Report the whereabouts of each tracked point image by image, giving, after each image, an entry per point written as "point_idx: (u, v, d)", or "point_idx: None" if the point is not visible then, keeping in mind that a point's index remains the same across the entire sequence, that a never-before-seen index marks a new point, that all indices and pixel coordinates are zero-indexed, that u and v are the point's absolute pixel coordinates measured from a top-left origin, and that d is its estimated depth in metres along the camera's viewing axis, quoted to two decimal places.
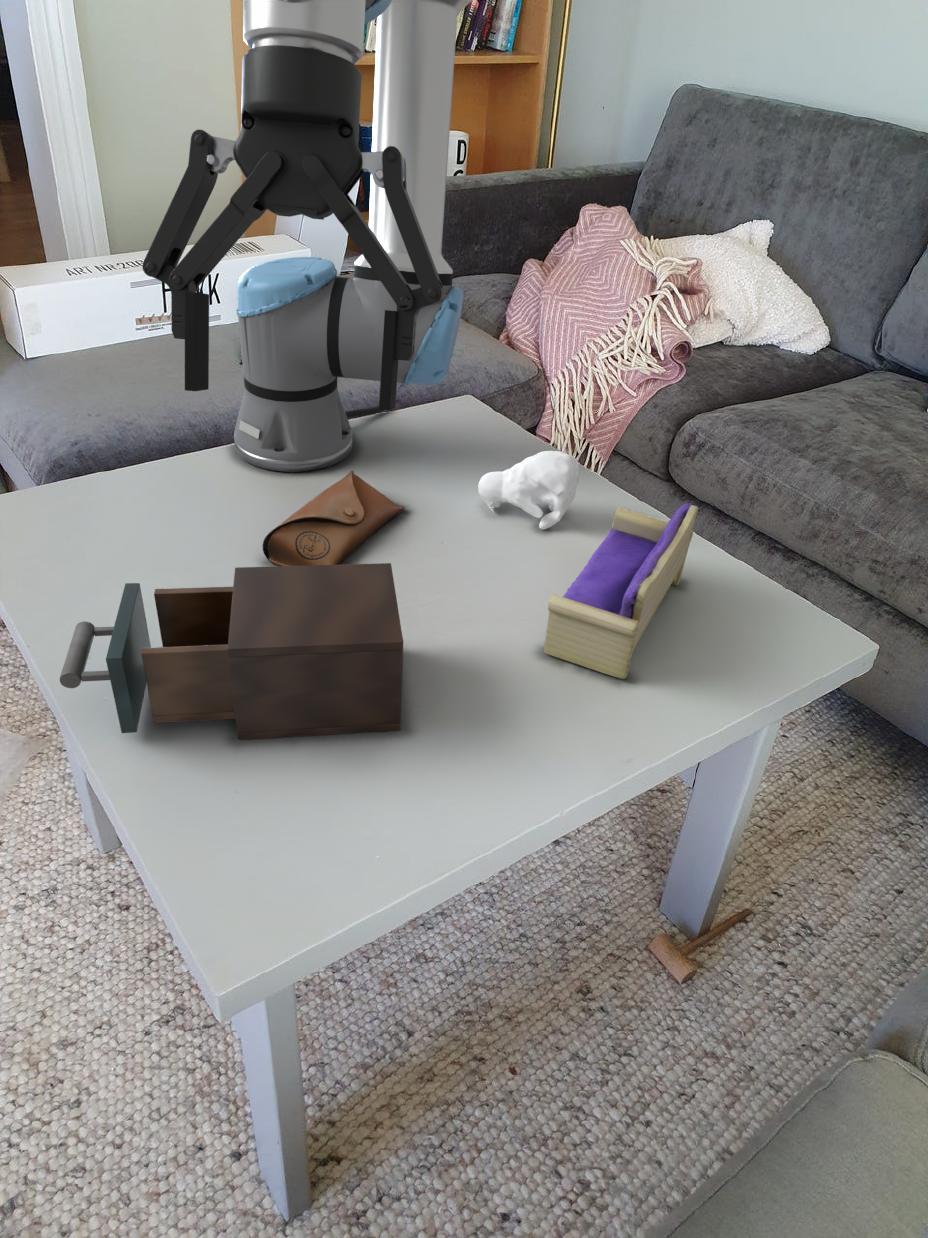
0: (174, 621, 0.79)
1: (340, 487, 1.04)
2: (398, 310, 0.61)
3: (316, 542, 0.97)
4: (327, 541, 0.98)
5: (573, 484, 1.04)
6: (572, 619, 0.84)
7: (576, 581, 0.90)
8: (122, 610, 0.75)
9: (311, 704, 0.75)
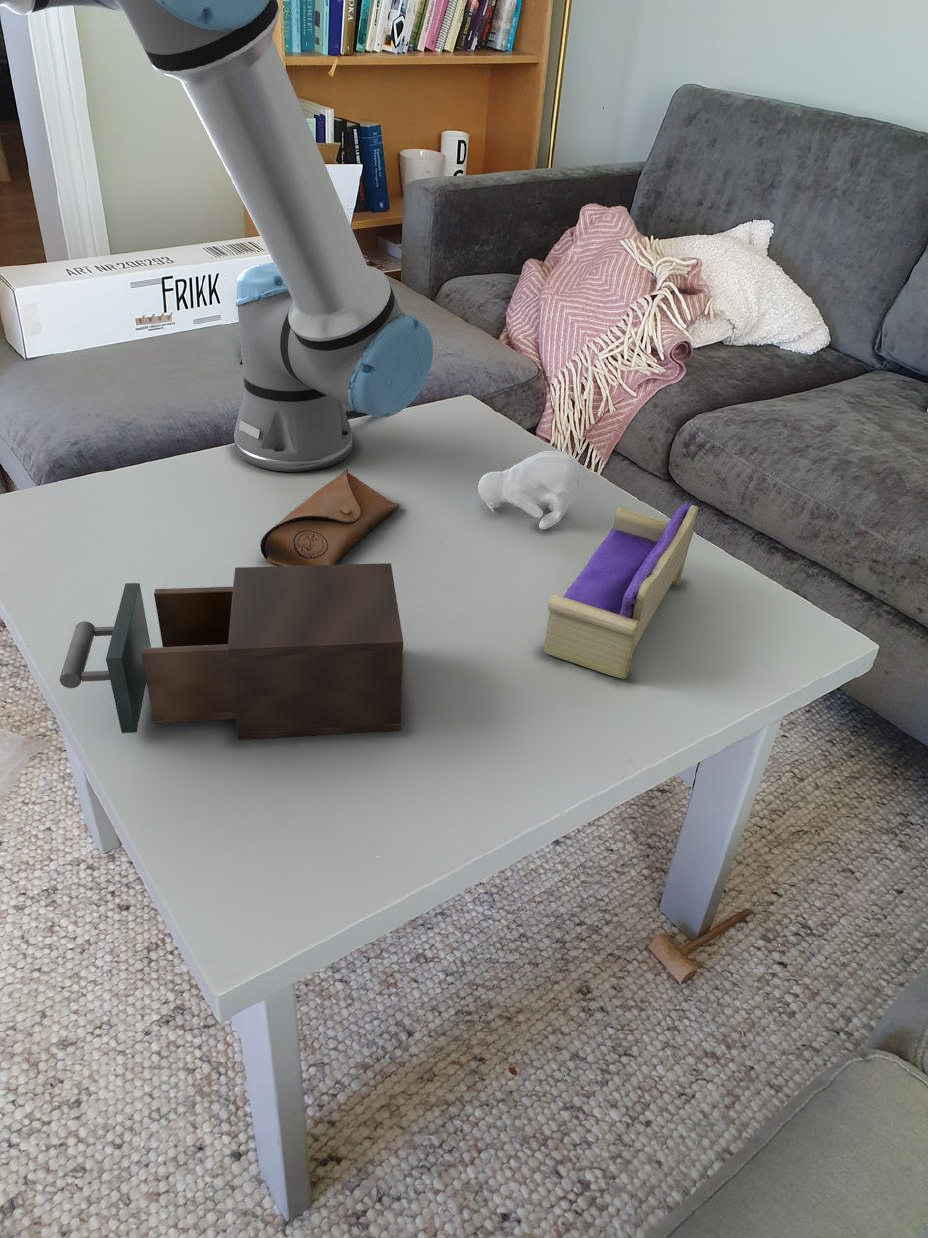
0: (174, 621, 0.79)
1: (336, 486, 1.04)
2: None
3: (313, 541, 0.97)
4: (325, 540, 0.98)
5: (573, 484, 1.04)
6: (572, 619, 0.84)
7: (576, 581, 0.90)
8: (122, 610, 0.75)
9: (311, 704, 0.75)
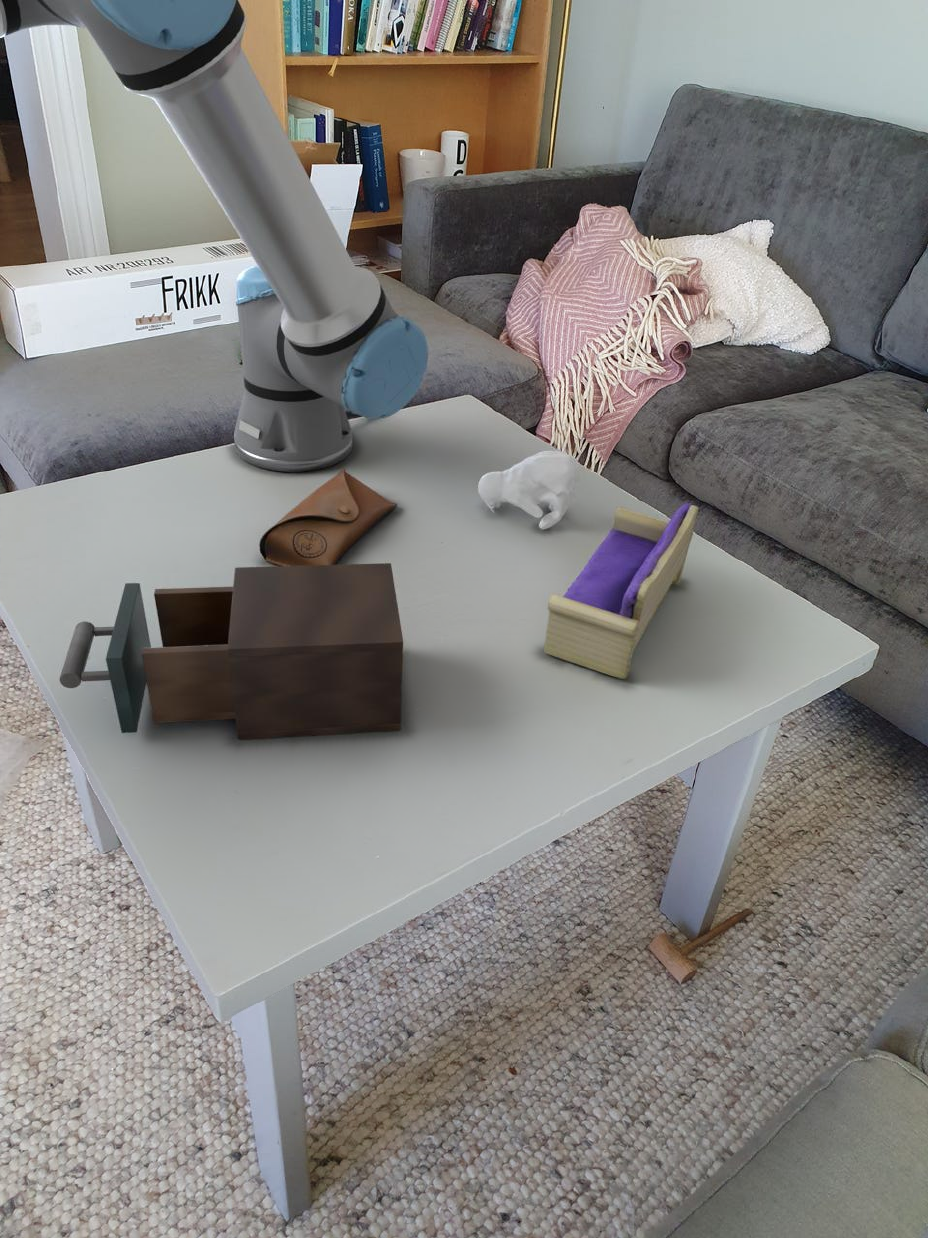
0: (174, 621, 0.79)
1: (333, 486, 1.04)
2: None
3: (313, 541, 0.97)
4: (324, 539, 0.98)
5: (573, 484, 1.04)
6: (572, 619, 0.84)
7: (576, 581, 0.90)
8: (122, 610, 0.75)
9: (311, 704, 0.75)
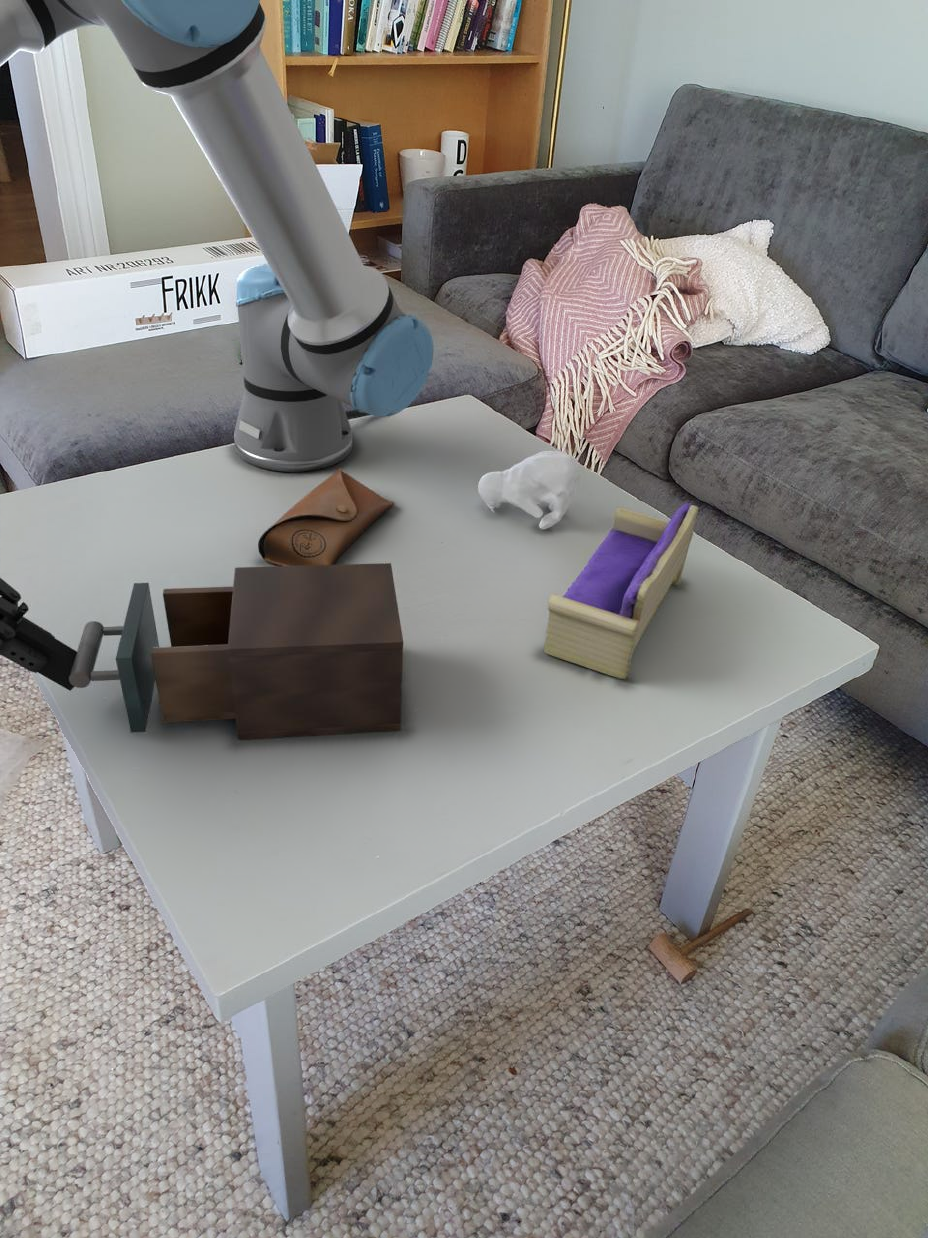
0: (183, 621, 0.80)
1: (331, 485, 1.04)
2: None
3: (311, 540, 0.98)
4: (323, 539, 0.98)
5: (573, 484, 1.04)
6: (572, 619, 0.84)
7: (576, 581, 0.90)
8: (131, 610, 0.75)
9: (311, 704, 0.75)
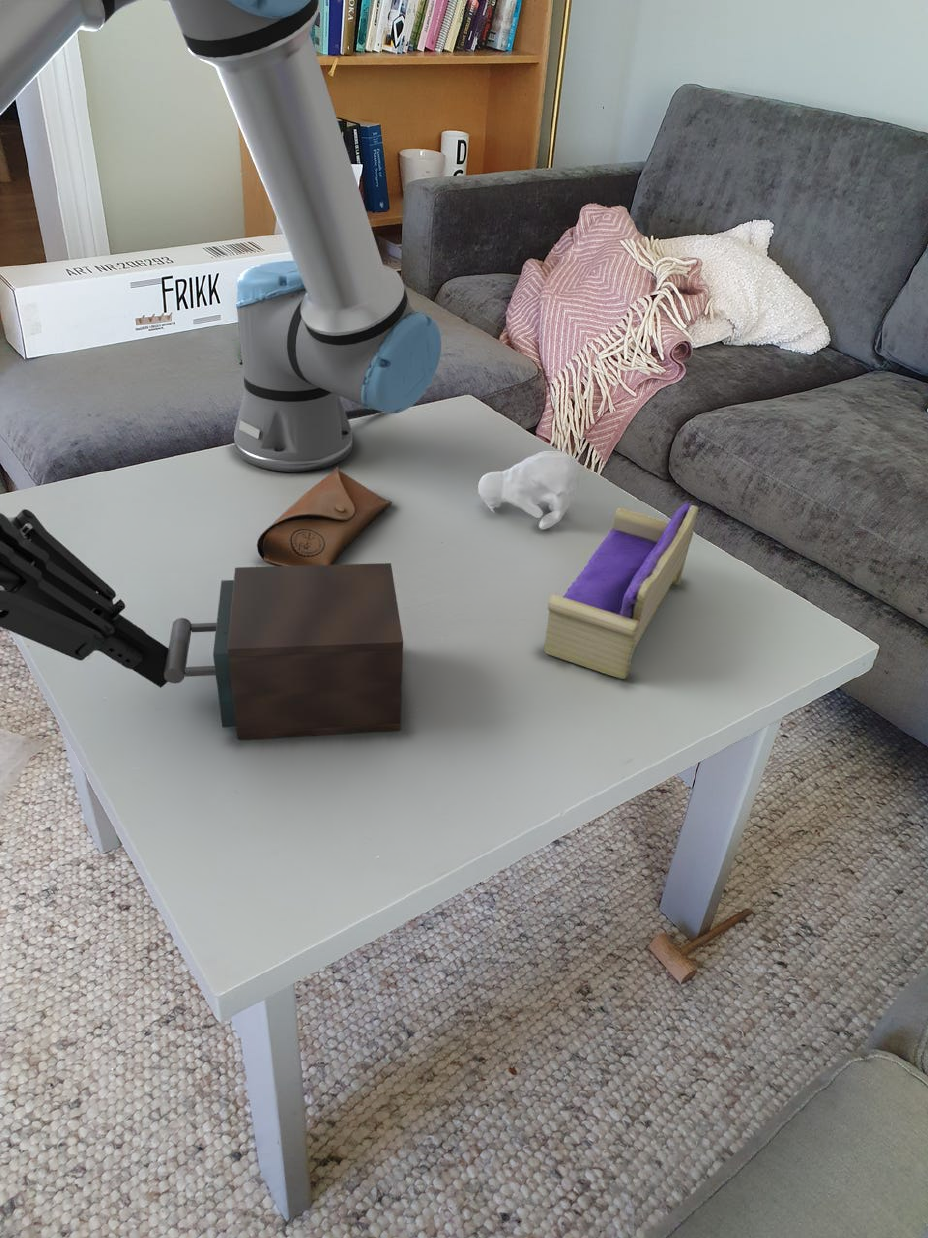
0: None
1: (328, 484, 1.05)
2: None
3: (310, 540, 0.98)
4: (322, 538, 0.98)
5: (573, 484, 1.04)
6: (572, 619, 0.84)
7: (576, 581, 0.90)
8: (222, 607, 0.76)
9: (311, 704, 0.75)
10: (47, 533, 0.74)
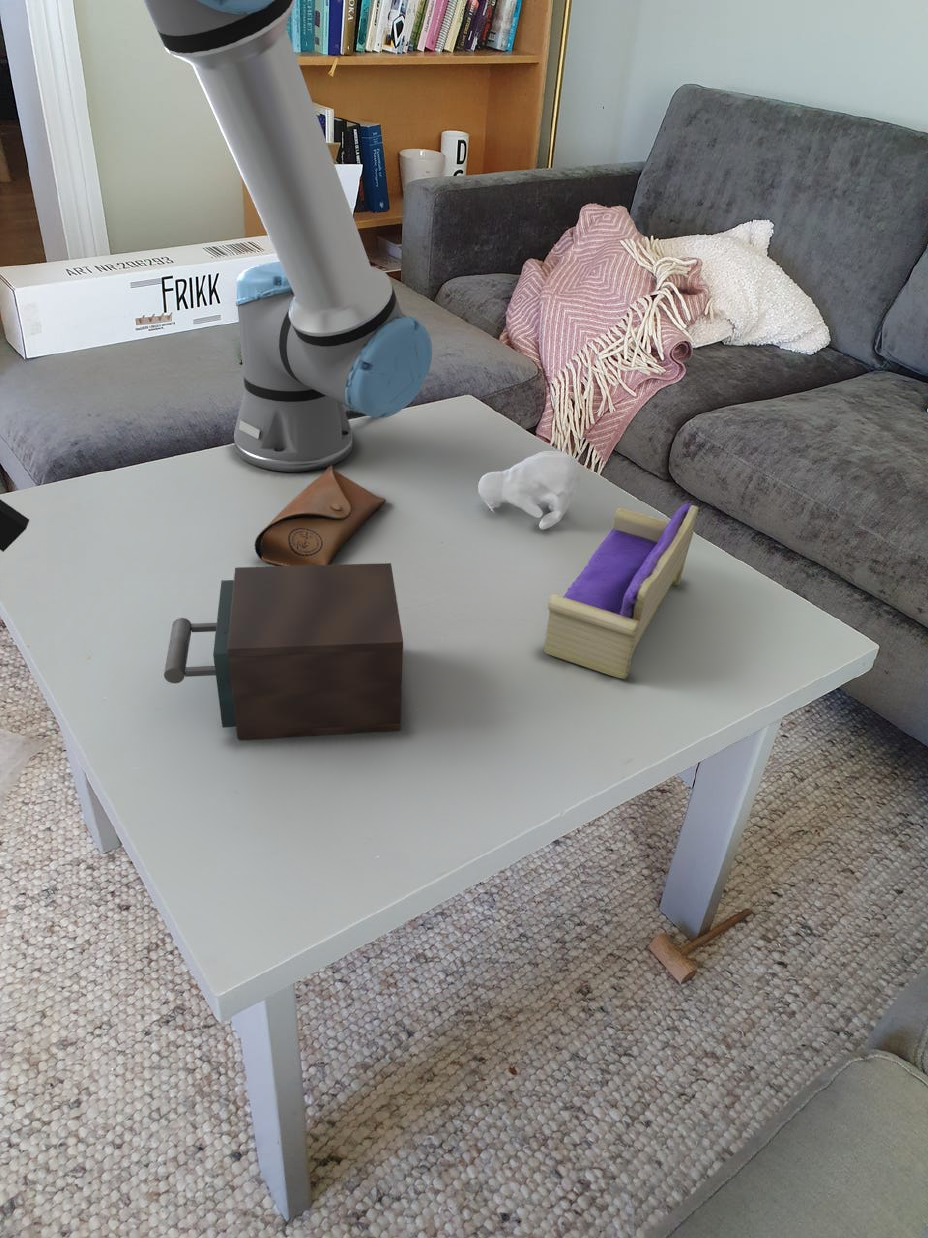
0: None
1: (323, 483, 1.05)
2: None
3: (308, 539, 0.98)
4: (319, 537, 0.98)
5: (573, 484, 1.04)
6: (572, 619, 0.84)
7: (576, 581, 0.90)
8: (222, 607, 0.76)
9: (311, 704, 0.75)
10: None
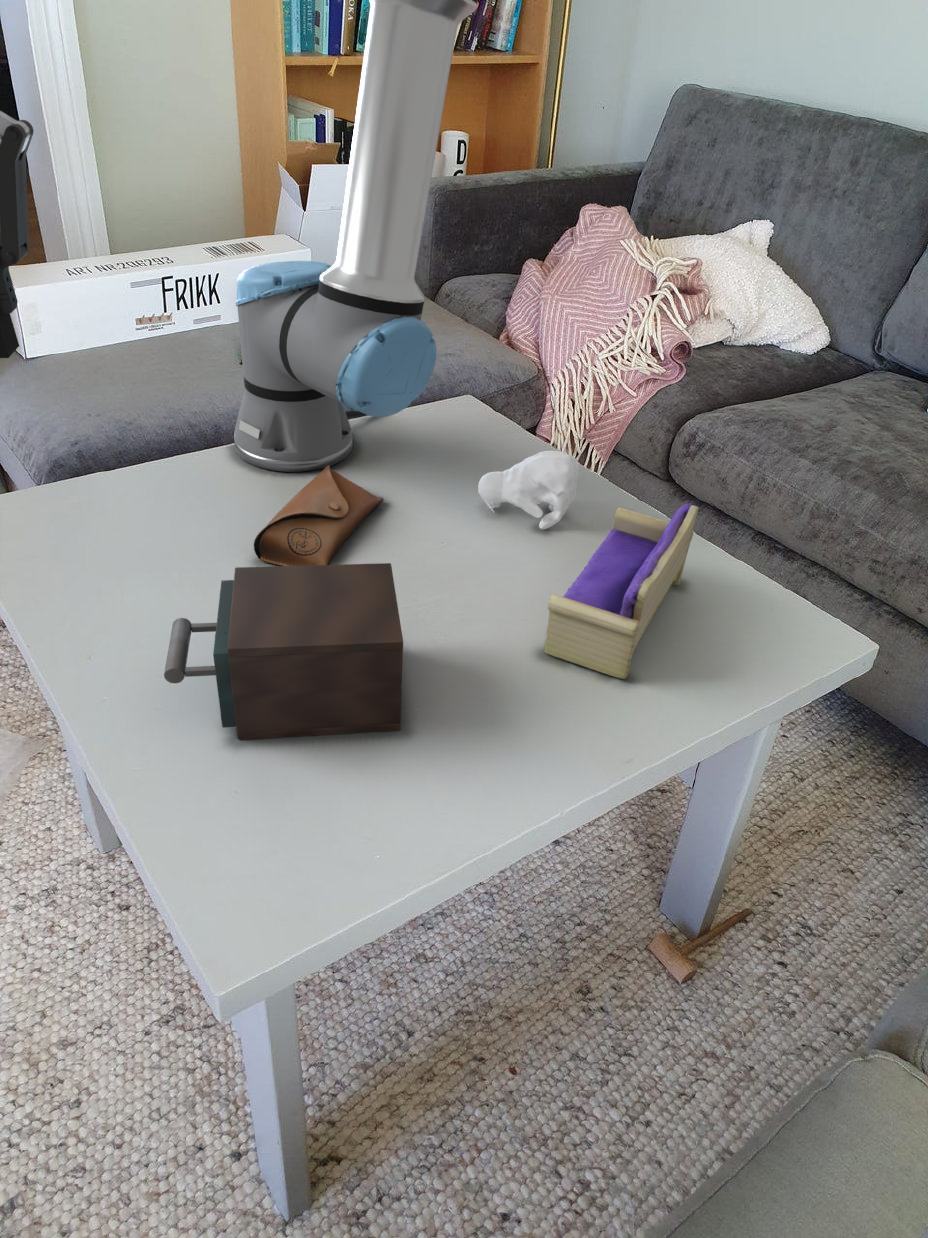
0: None
1: (321, 483, 1.05)
2: None
3: (307, 538, 0.98)
4: (318, 536, 0.99)
5: (573, 484, 1.04)
6: (572, 619, 0.84)
7: (576, 581, 0.90)
8: (222, 607, 0.76)
9: (311, 704, 0.75)
10: None
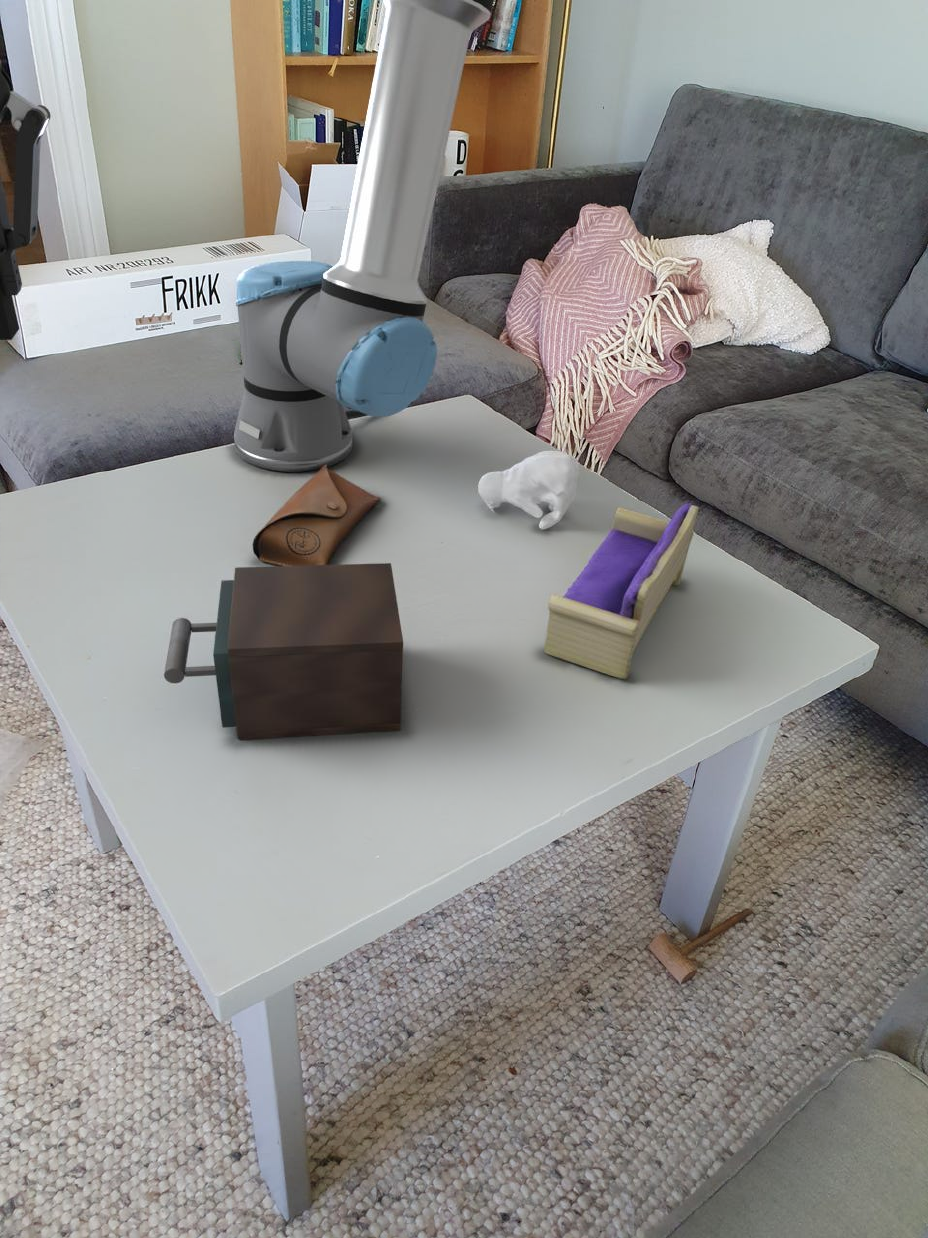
0: None
1: (319, 482, 1.05)
2: None
3: (306, 538, 0.98)
4: (317, 536, 0.99)
5: (573, 484, 1.04)
6: (572, 619, 0.84)
7: (576, 581, 0.90)
8: (222, 607, 0.76)
9: (311, 704, 0.75)
10: None
